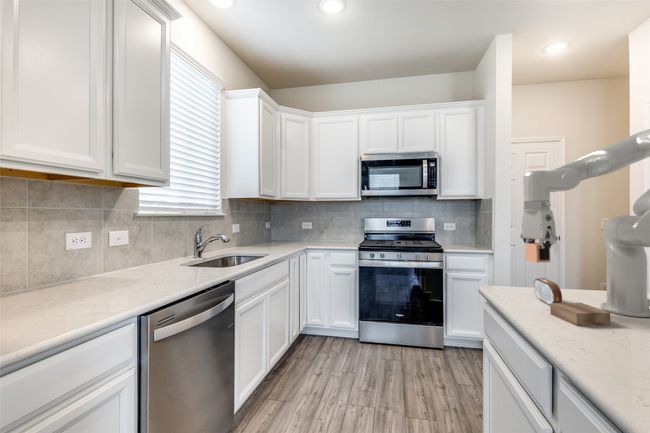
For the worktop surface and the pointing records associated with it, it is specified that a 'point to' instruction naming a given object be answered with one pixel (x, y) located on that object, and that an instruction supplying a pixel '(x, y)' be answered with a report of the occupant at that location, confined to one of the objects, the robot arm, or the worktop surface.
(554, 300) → the tin
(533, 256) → the salmon pink block
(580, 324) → the walnut base
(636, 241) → the robot arm
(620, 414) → the worktop surface
